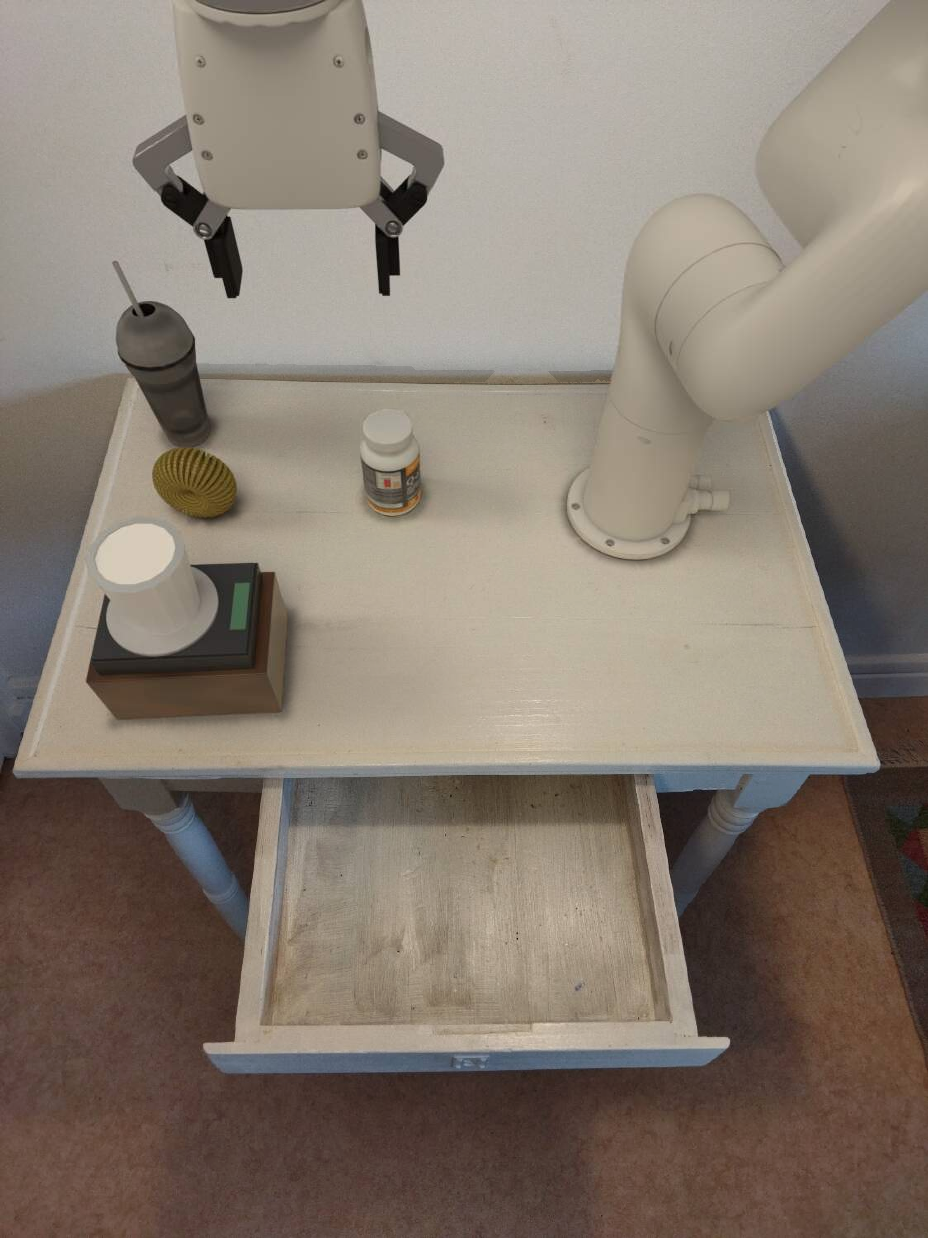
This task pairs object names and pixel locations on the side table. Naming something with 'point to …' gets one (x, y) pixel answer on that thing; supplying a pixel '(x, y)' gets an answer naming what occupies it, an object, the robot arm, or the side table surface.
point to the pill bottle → (390, 462)
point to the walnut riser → (208, 677)
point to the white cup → (145, 574)
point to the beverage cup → (163, 366)
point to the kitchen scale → (189, 629)
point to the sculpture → (194, 482)
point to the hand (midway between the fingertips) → (310, 283)
